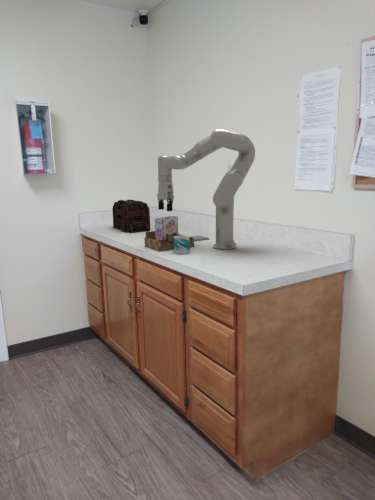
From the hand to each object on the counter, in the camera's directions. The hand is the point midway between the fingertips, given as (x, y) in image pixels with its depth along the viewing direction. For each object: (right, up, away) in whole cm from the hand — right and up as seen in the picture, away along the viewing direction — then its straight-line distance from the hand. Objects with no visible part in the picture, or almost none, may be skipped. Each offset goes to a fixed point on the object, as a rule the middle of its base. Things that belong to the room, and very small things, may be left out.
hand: (165, 210), depth 221 cm
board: (+15, -16, +21) cm, 30 cm away
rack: (+2, -20, +2) cm, 20 cm away
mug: (+9, -23, -13) cm, 28 cm away
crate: (-29, -7, +70) cm, 76 cm away
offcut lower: (+6, -21, -3) cm, 22 cm away
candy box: (+1, -20, +4) cm, 20 cm away
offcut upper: (+5, -18, -4) cm, 19 cm away
